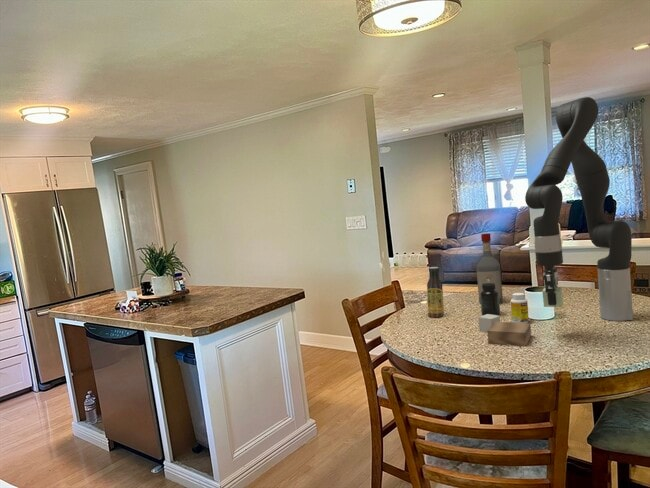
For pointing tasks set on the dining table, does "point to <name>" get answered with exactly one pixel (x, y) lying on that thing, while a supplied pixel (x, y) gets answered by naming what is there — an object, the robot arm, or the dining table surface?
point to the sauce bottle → (435, 294)
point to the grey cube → (487, 321)
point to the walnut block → (509, 333)
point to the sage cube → (558, 297)
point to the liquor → (488, 268)
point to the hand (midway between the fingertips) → (553, 302)
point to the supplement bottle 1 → (489, 300)
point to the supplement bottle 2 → (519, 308)
